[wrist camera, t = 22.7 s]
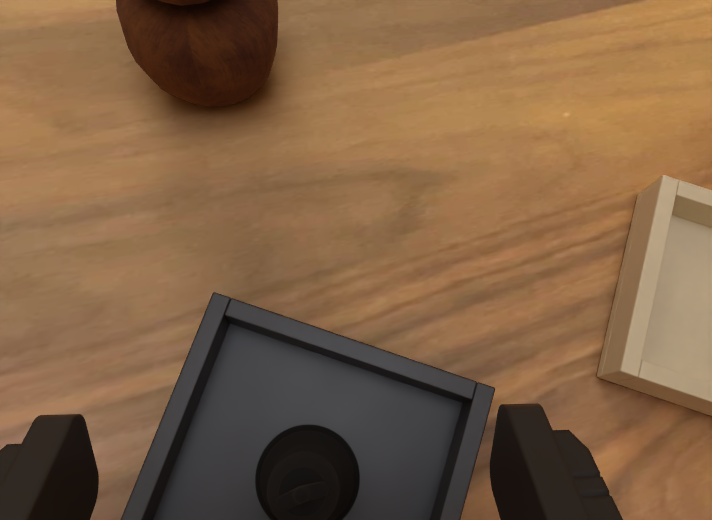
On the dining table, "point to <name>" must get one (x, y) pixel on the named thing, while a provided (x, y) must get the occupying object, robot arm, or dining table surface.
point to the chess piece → (307, 475)
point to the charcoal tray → (307, 421)
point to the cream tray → (665, 299)
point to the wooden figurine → (203, 45)
